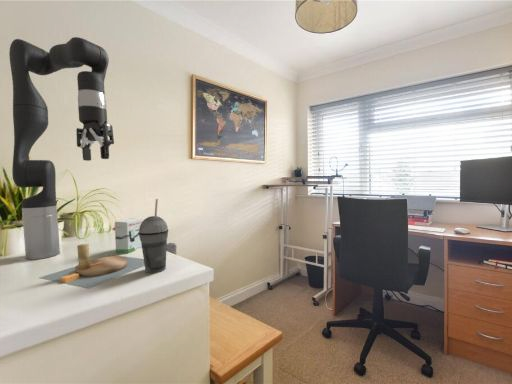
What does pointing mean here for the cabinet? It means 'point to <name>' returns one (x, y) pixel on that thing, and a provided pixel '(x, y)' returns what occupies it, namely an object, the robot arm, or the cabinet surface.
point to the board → (87, 282)
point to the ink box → (127, 235)
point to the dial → (97, 263)
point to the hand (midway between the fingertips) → (96, 159)
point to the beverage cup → (154, 242)
